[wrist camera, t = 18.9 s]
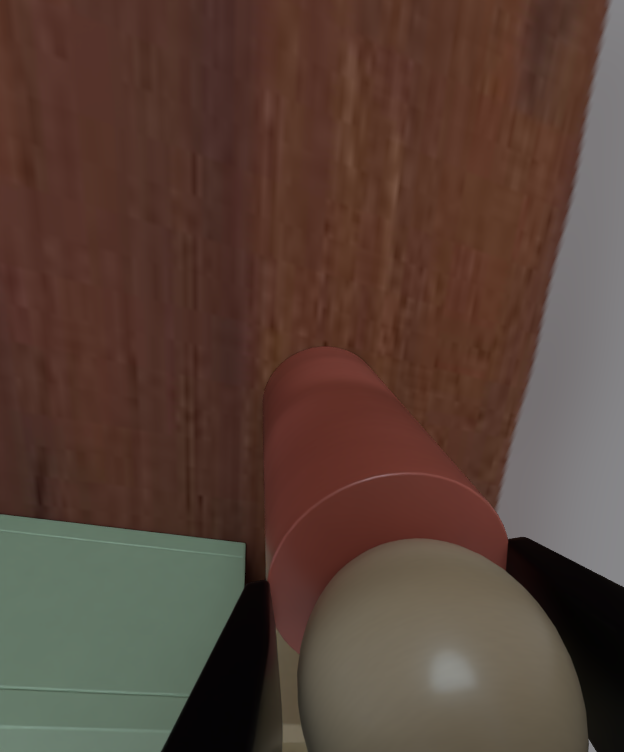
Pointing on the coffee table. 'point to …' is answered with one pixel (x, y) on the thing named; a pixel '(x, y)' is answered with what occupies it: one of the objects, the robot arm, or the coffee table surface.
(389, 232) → the coffee table surface
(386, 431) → the doll
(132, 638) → the cabinet
